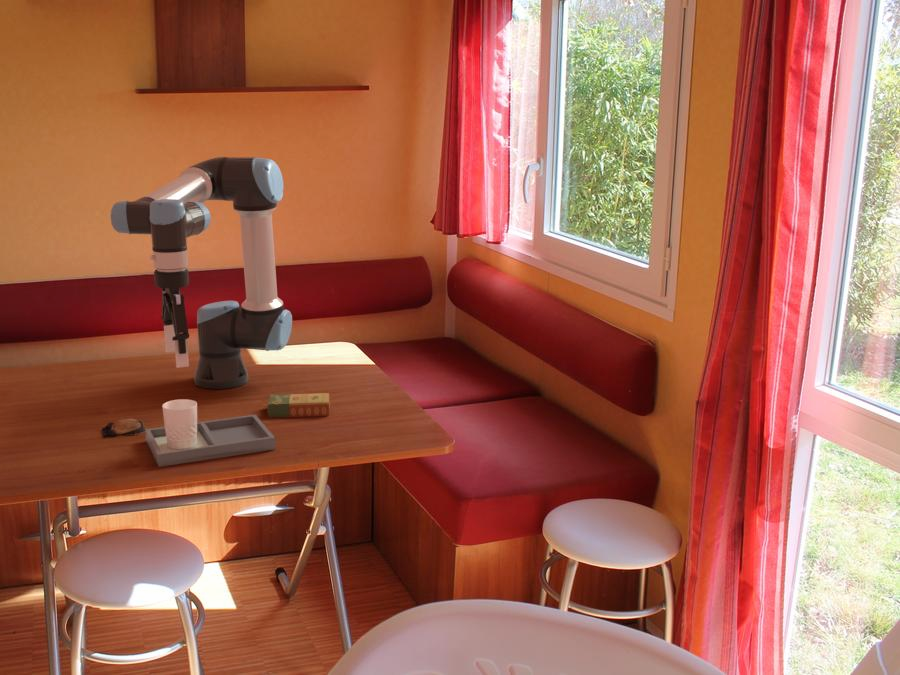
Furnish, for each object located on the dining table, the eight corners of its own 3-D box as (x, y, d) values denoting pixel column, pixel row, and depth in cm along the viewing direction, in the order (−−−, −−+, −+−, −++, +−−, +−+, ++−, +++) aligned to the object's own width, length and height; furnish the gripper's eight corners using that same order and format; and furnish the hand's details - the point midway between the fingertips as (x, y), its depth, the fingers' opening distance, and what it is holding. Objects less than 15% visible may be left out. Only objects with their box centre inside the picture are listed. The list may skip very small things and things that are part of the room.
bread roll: (143, 425, 252) (143, 411, 251) (149, 435, 245) (148, 421, 244) (100, 430, 247) (99, 416, 247) (104, 441, 240) (103, 427, 239)
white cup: (170, 438, 238) (168, 398, 235) (203, 439, 238) (201, 399, 235) (160, 450, 230) (157, 409, 228) (194, 451, 230) (191, 410, 227)
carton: (329, 417, 258) (329, 401, 257) (267, 418, 257) (266, 403, 256) (330, 407, 266) (329, 391, 265) (269, 408, 265) (269, 393, 264)
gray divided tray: (145, 441, 239) (145, 429, 238) (255, 425, 250) (255, 414, 250) (158, 466, 223) (157, 454, 223) (275, 449, 235) (274, 437, 234)
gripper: (145, 260, 232) (151, 347, 238) (163, 280, 211) (170, 375, 216) (177, 258, 236) (183, 344, 241) (199, 277, 214) (204, 371, 219)
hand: (177, 359), depth 229 cm, fingers open, 13 cm apart
